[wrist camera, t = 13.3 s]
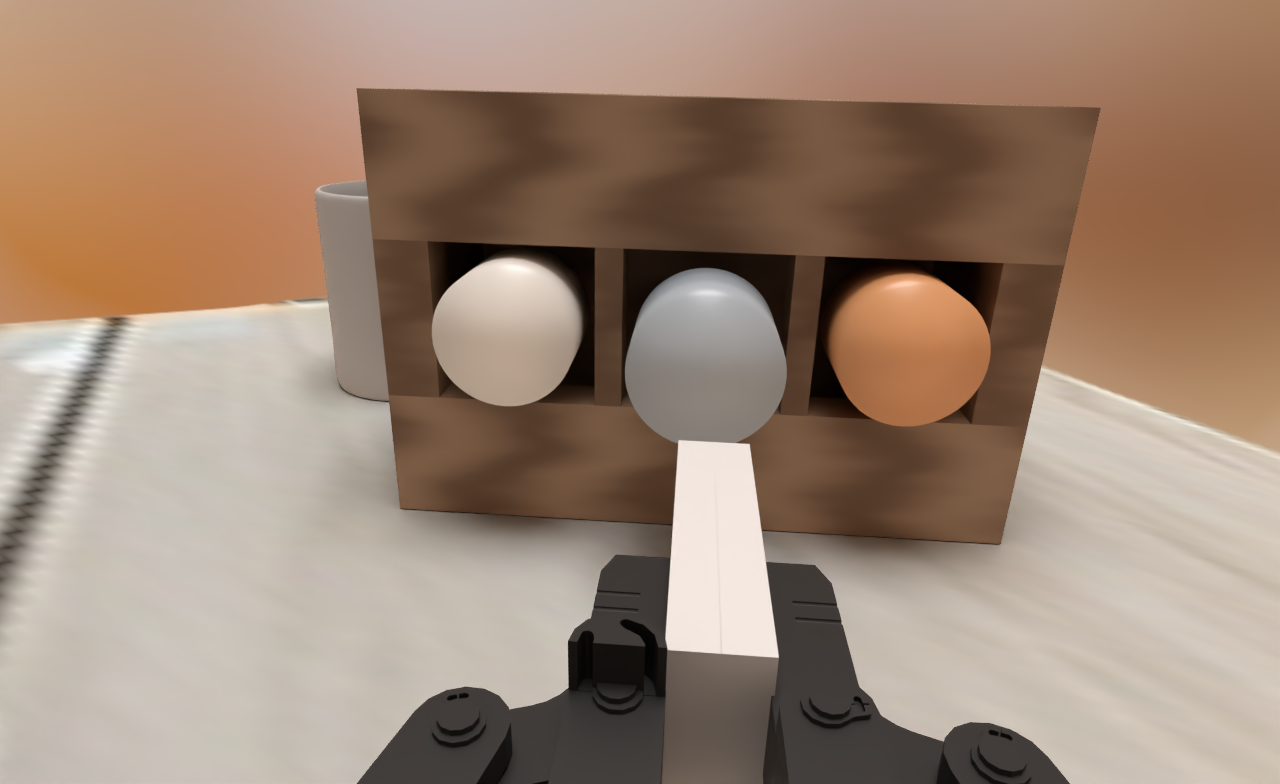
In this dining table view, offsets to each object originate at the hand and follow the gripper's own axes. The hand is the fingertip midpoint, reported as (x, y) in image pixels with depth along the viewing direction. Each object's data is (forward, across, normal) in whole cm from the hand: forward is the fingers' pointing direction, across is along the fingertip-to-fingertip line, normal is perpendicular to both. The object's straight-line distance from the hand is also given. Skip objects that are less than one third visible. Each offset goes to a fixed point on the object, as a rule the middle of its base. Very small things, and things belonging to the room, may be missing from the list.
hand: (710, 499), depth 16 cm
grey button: (+12, 0, -3) cm, 12 cm away
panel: (+17, 0, -8) cm, 19 cm away
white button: (+14, -7, -3) cm, 16 cm away
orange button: (+15, +7, -3) cm, 16 cm away
